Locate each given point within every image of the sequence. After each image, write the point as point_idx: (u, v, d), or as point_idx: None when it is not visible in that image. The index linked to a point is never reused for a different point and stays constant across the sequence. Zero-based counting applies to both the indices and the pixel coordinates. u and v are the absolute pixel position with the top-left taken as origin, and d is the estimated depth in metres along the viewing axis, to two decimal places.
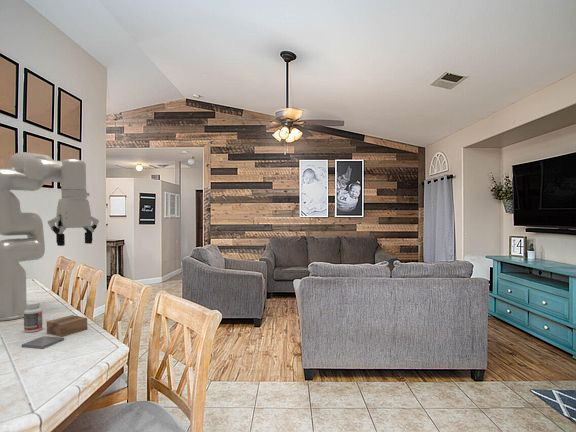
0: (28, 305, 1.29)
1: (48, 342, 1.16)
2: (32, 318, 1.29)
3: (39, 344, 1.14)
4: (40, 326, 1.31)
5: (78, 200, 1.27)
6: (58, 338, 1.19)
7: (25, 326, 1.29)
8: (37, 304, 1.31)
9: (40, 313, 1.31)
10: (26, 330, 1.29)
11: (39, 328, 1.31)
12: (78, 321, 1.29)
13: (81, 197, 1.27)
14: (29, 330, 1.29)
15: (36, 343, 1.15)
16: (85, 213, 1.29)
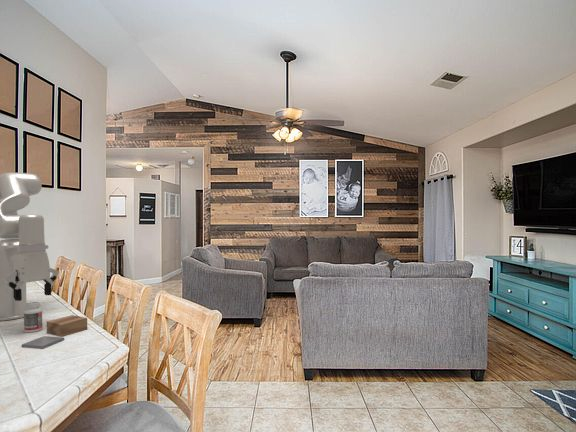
0: (28, 305, 1.29)
1: (48, 342, 1.16)
2: (32, 318, 1.29)
3: (39, 344, 1.14)
4: (40, 326, 1.31)
5: (35, 254, 1.30)
6: (58, 338, 1.19)
7: (25, 326, 1.29)
8: (37, 304, 1.31)
9: (40, 313, 1.31)
10: (26, 330, 1.29)
11: (39, 328, 1.31)
12: (78, 321, 1.29)
13: (38, 251, 1.29)
14: (29, 330, 1.29)
15: (36, 343, 1.15)
16: (43, 266, 1.32)
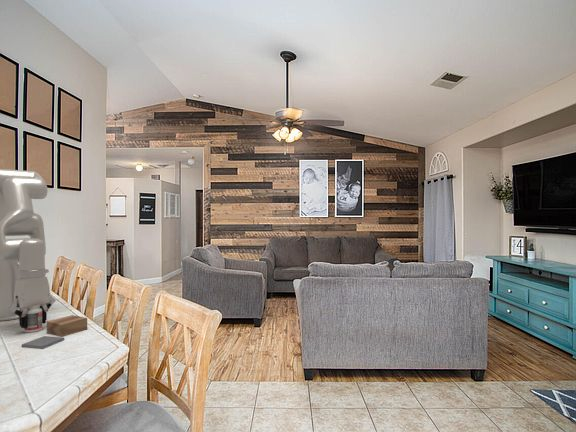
0: None
1: (48, 342, 1.16)
2: (32, 318, 1.29)
3: (39, 344, 1.14)
4: (40, 326, 1.31)
5: (36, 280, 1.30)
6: (58, 338, 1.19)
7: None
8: None
9: (40, 313, 1.31)
10: (26, 330, 1.29)
11: (39, 328, 1.31)
12: (78, 321, 1.29)
13: (39, 277, 1.30)
14: (29, 330, 1.29)
15: (36, 343, 1.15)
16: (43, 291, 1.32)
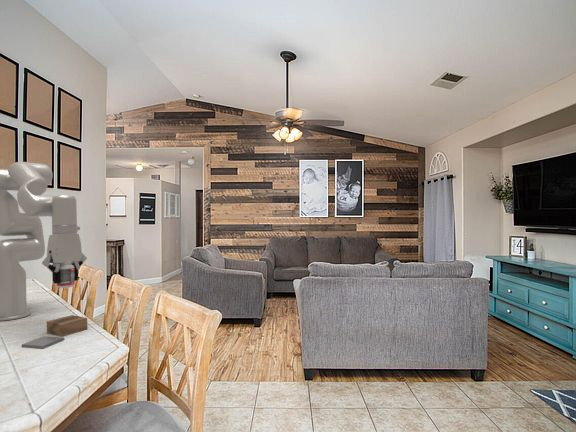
0: None
1: (48, 342, 1.16)
2: (65, 274, 1.27)
3: (39, 344, 1.14)
4: (73, 282, 1.30)
5: (68, 235, 1.28)
6: (58, 338, 1.19)
7: None
8: None
9: (73, 269, 1.30)
10: (59, 286, 1.27)
11: (72, 284, 1.29)
12: (78, 321, 1.29)
13: (71, 232, 1.28)
14: (62, 286, 1.27)
15: (36, 343, 1.15)
16: (76, 247, 1.31)
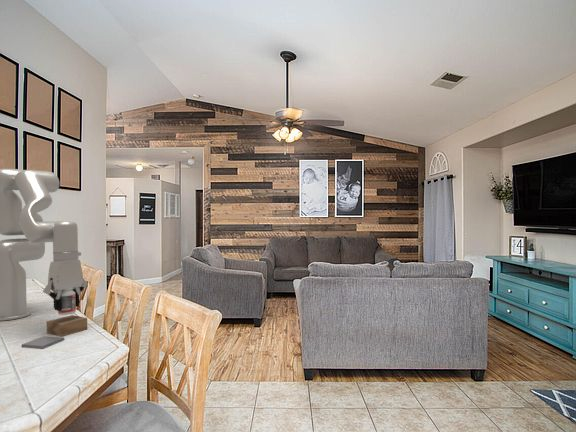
0: None
1: (48, 342, 1.16)
2: (66, 300, 1.27)
3: (39, 344, 1.14)
4: (74, 309, 1.30)
5: (70, 262, 1.28)
6: (58, 338, 1.19)
7: None
8: None
9: (74, 296, 1.30)
10: (60, 312, 1.27)
11: (73, 311, 1.29)
12: (78, 321, 1.29)
13: (72, 259, 1.28)
14: (63, 312, 1.27)
15: (36, 343, 1.15)
16: (77, 274, 1.31)
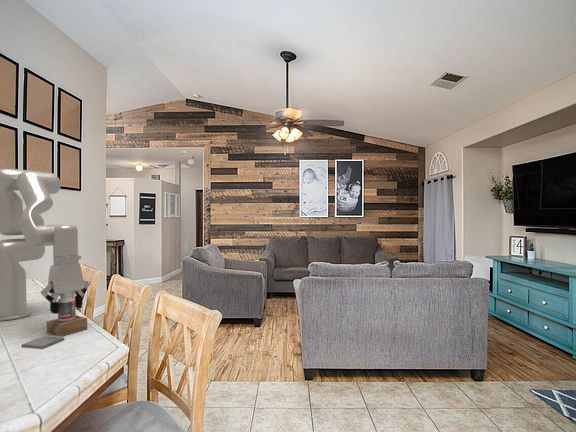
0: (62, 294, 1.28)
1: (48, 342, 1.16)
2: (66, 307, 1.28)
3: (39, 344, 1.14)
4: (74, 315, 1.30)
5: (70, 266, 1.28)
6: (58, 338, 1.19)
7: (59, 315, 1.28)
8: (71, 293, 1.29)
9: (74, 302, 1.30)
10: (60, 319, 1.27)
11: (73, 317, 1.29)
12: (78, 321, 1.29)
13: (73, 263, 1.28)
14: (63, 319, 1.27)
15: (36, 343, 1.15)
16: (77, 277, 1.31)
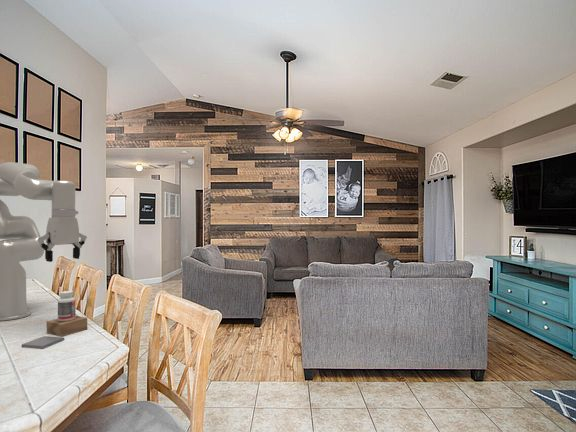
0: (62, 294, 1.28)
1: (48, 342, 1.16)
2: (66, 307, 1.28)
3: (39, 344, 1.14)
4: (74, 315, 1.30)
5: (67, 219, 1.36)
6: (58, 338, 1.19)
7: (59, 315, 1.28)
8: (71, 293, 1.29)
9: (74, 302, 1.30)
10: (60, 319, 1.27)
11: (73, 317, 1.29)
12: (78, 321, 1.29)
13: (69, 216, 1.35)
14: (63, 319, 1.27)
15: (36, 343, 1.15)
16: (73, 231, 1.38)
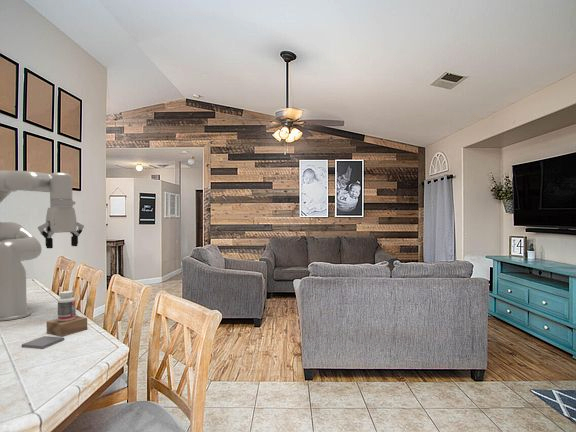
0: (62, 294, 1.28)
1: (48, 342, 1.16)
2: (66, 307, 1.28)
3: (39, 344, 1.14)
4: (74, 315, 1.30)
5: (65, 208, 1.45)
6: (58, 338, 1.19)
7: (59, 315, 1.28)
8: (71, 293, 1.29)
9: (74, 302, 1.30)
10: (60, 319, 1.27)
11: (73, 317, 1.29)
12: (78, 321, 1.29)
13: (67, 206, 1.45)
14: (63, 319, 1.27)
15: (36, 343, 1.15)
16: (71, 219, 1.47)
